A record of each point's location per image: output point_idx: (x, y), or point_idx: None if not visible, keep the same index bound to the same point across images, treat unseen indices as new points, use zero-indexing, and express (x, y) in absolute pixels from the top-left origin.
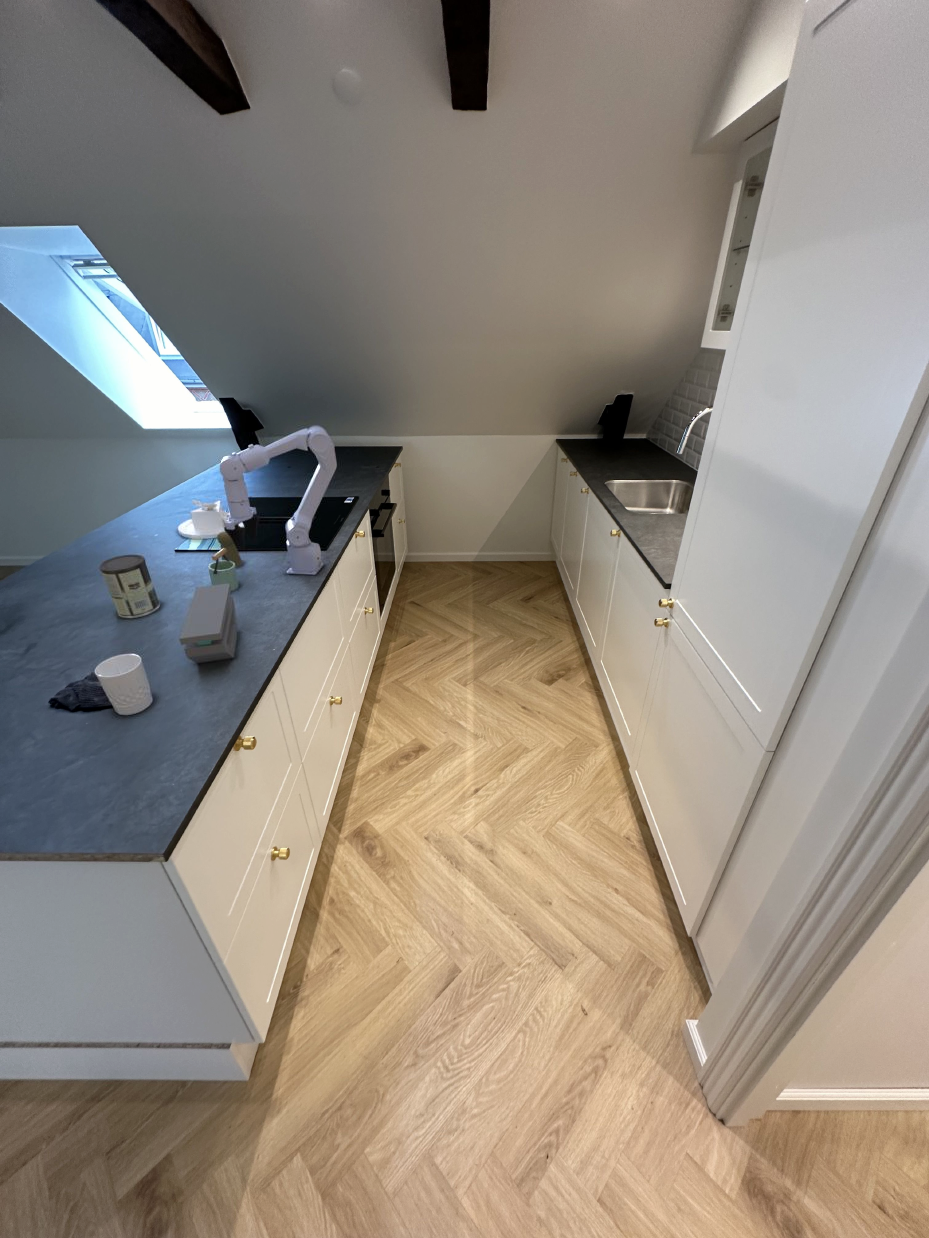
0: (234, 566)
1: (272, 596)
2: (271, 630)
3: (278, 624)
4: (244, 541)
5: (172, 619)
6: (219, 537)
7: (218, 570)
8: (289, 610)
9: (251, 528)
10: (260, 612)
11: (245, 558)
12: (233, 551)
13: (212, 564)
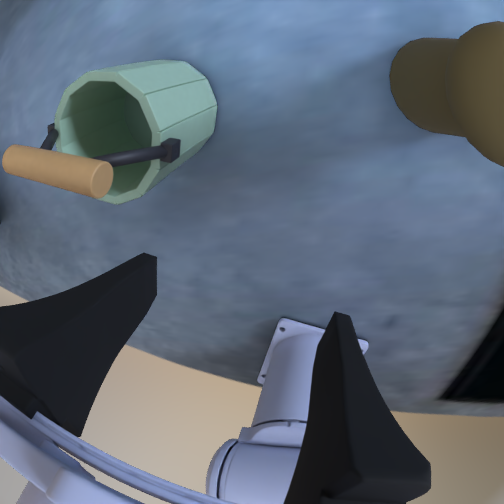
0: (112, 202)
1: None
2: (23, 278)
3: (37, 289)
4: (127, 339)
5: (12, 53)
6: (478, 42)
7: (58, 145)
8: None
9: (318, 417)
10: (56, 255)
11: None
12: (438, 118)
13: (108, 81)
